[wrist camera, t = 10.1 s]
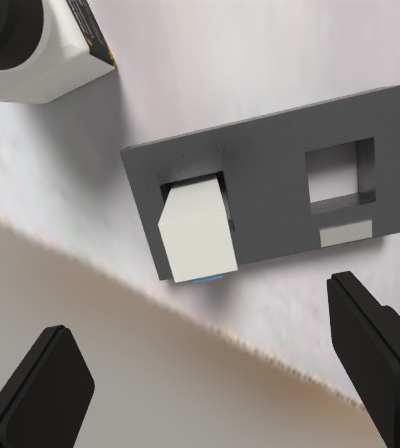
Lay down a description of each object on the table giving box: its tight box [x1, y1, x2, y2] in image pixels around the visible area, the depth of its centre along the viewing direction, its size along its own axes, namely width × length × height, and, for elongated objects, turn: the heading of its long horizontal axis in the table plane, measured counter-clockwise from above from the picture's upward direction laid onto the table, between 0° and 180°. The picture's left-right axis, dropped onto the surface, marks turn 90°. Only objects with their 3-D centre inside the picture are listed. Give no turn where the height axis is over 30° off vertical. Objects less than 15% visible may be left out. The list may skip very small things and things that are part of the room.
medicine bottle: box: [0, 0, 116, 104], centre depth 19 cm, size 7×7×12 cm
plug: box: [158, 173, 238, 283], centre depth 24 cm, size 4×5×11 cm
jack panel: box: [120, 85, 400, 281], centre depth 27 cm, size 22×12×3 cm, turn 103°
